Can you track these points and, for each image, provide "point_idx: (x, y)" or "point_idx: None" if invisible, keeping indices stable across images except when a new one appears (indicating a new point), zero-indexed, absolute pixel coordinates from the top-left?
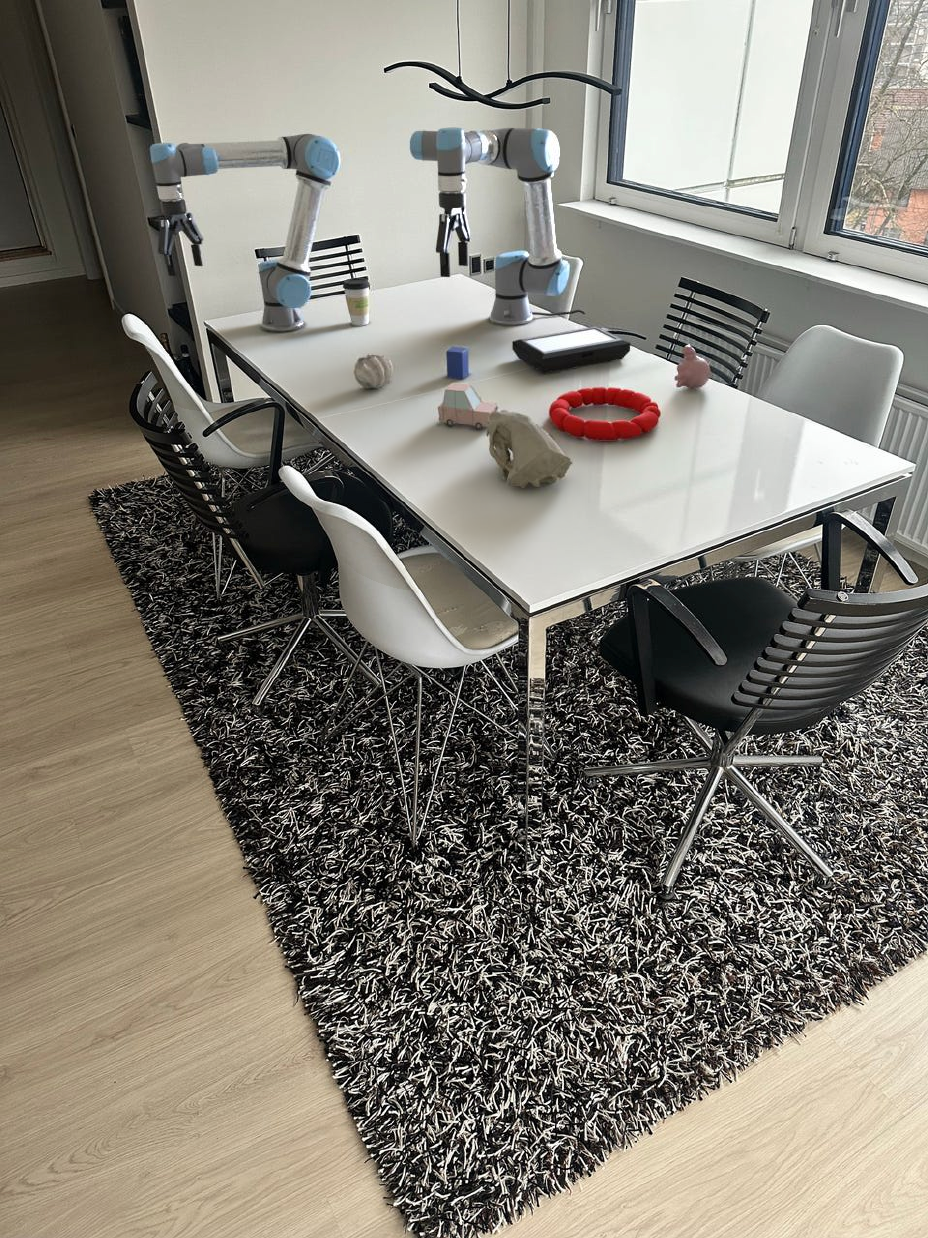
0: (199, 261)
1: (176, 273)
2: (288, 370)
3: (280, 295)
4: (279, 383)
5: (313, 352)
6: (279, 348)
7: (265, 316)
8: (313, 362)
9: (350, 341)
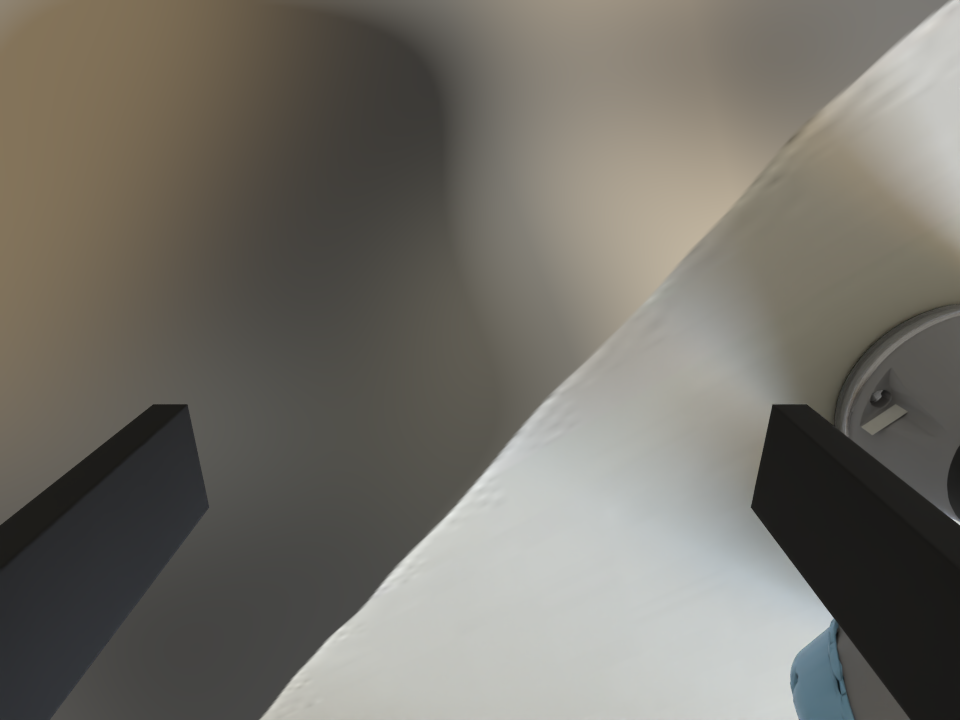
0: (786, 530)
1: (187, 525)
2: (403, 667)
3: (798, 712)
4: (286, 695)
5: (602, 655)
6: (618, 535)
7: (918, 388)
8: (503, 696)
9: (746, 704)
